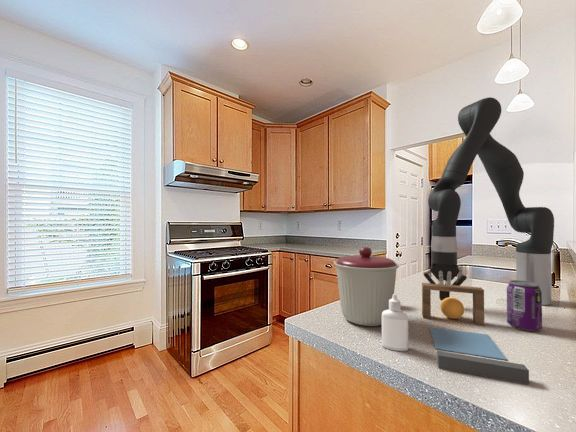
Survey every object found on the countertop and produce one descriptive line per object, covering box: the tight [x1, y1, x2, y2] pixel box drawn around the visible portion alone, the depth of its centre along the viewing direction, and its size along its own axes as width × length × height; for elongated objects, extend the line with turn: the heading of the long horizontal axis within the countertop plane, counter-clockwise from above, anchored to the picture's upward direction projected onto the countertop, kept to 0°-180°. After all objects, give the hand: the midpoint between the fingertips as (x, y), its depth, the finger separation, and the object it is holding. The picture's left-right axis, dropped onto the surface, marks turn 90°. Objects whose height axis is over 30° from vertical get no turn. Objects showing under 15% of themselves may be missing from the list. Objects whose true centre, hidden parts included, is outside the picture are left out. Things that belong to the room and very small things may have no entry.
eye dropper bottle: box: [381, 293, 409, 352], centre depth 61 cm, size 4×6×12 cm
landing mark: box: [429, 326, 508, 361], centre depth 64 cm, size 13×13×1 cm
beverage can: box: [506, 279, 543, 332], centre depth 72 cm, size 7×7×12 cm
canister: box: [333, 246, 400, 327], centre depth 78 cm, size 18×18×21 cm
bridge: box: [421, 282, 485, 327], centre depth 78 cm, size 3×15×10 cm, turn 68°
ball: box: [439, 296, 465, 320], centre depth 79 cm, size 6×6×6 cm
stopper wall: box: [436, 350, 530, 385], centre depth 51 cm, size 2×14×2 cm, turn 68°
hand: (444, 301), depth 90 cm, fingers closed
